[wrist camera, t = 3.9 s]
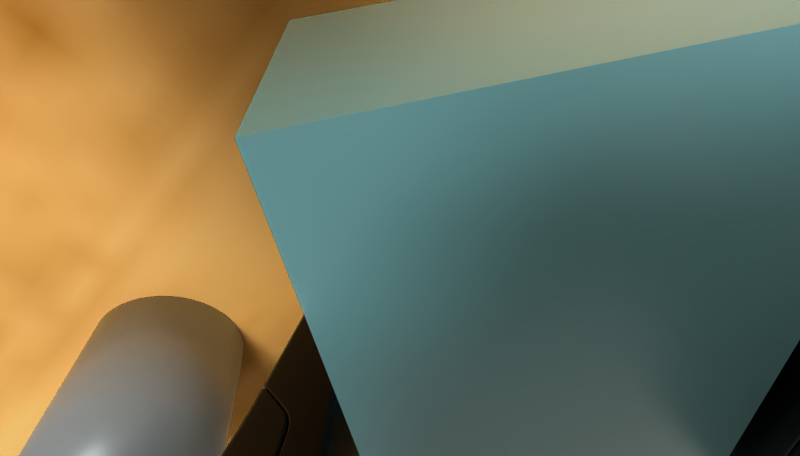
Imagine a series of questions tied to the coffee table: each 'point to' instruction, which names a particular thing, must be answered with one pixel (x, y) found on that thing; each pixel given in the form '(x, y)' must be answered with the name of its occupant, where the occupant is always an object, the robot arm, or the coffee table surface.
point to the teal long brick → (539, 218)
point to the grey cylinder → (147, 385)
